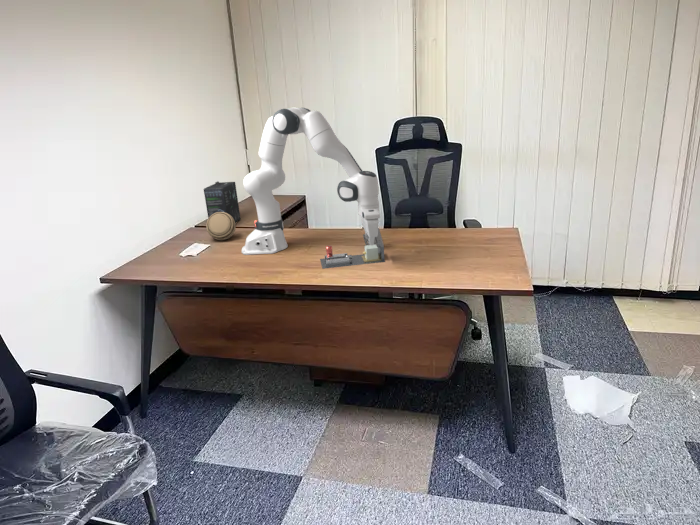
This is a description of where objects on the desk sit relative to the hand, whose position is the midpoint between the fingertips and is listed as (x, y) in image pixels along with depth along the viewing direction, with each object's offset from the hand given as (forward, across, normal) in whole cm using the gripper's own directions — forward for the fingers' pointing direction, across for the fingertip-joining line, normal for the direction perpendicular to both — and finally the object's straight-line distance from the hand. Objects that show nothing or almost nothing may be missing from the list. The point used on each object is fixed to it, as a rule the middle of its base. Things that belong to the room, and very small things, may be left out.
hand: (369, 241), depth 208 cm
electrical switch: (+9, -16, +4) cm, 19 cm away
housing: (+7, 0, +1) cm, 7 cm away
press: (+9, 0, -8) cm, 12 cm away
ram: (+8, 0, -14) cm, 16 cm away
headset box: (+12, -92, -72) cm, 117 cm away
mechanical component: (+11, -58, -70) cm, 92 cm away
